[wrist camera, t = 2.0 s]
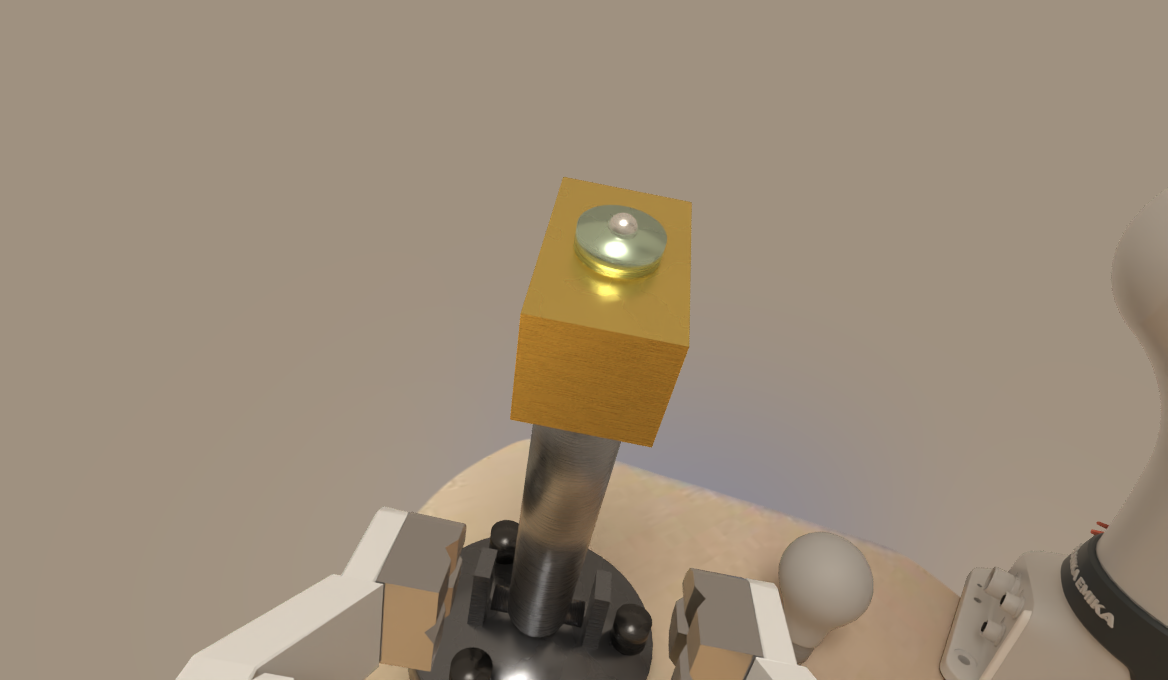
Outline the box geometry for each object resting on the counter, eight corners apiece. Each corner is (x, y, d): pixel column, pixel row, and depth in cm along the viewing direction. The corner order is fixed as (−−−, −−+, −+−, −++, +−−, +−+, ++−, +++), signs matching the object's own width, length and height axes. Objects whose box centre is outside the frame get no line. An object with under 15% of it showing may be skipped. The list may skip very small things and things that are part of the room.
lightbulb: (800, 616, 50) (850, 511, 46) (846, 687, 45) (908, 578, 40) (733, 623, 49) (777, 515, 44) (773, 699, 43) (829, 585, 39)
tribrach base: (446, 544, 51) (454, 471, 47) (642, 583, 51) (663, 512, 47) (369, 746, 36) (373, 661, 33) (643, 799, 36) (674, 720, 33)
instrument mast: (506, 546, 45) (554, 140, 23) (589, 562, 45) (715, 172, 23) (477, 665, 39) (506, 272, 17) (572, 683, 39) (719, 314, 17)
